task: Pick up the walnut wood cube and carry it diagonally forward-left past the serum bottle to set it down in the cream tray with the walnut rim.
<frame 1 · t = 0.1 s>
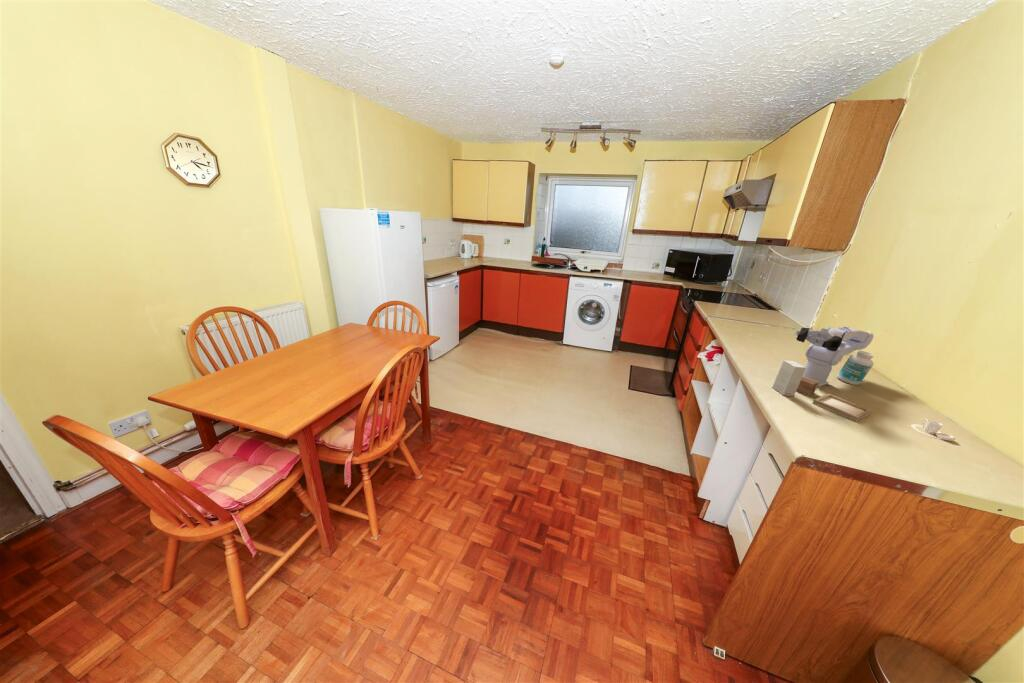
hand: (810, 340, 119), 21 cm above the worktop, tool horizontal, fingers open, 7 cm apart
skincare box: (782, 392, 125), on the worktop
pill bottle: (847, 381, 139), on the worktop, touching arm
teacup and saucer: (929, 437, 104), on the worktop
tray: (840, 408, 116), on the worktop
cube: (803, 391, 127), on the worktop
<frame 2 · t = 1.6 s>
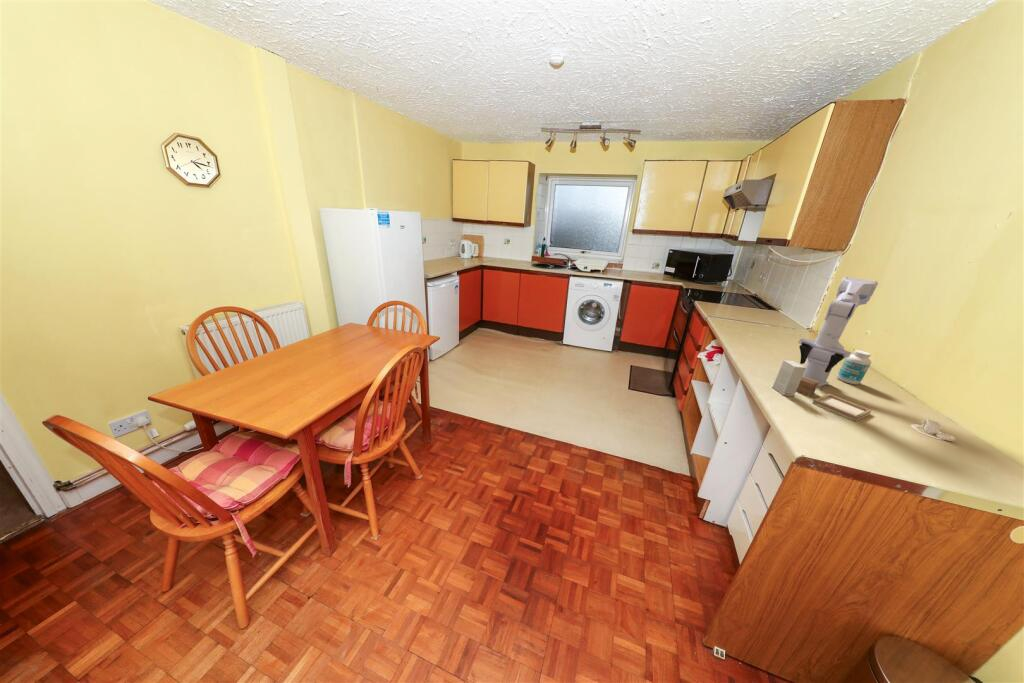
hand: (814, 367, 123), 10 cm above the worktop, tool pointing down, fingers open, 7 cm apart
pill bottle: (847, 381, 139), on the worktop
everything else where it was.
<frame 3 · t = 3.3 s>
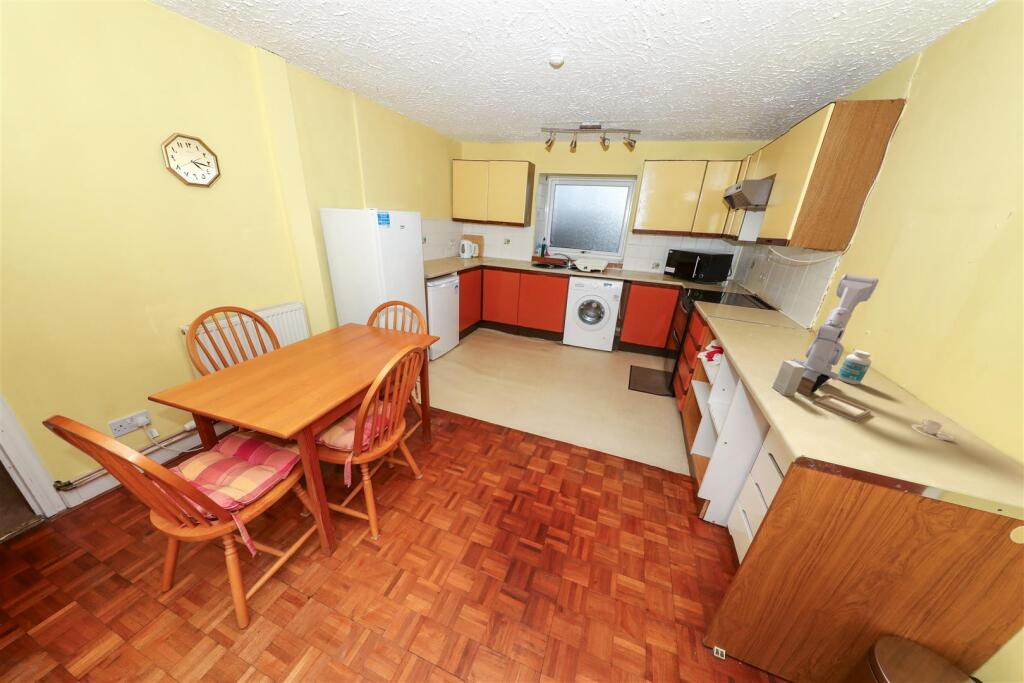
hand: (804, 388, 126), 1 cm above the worktop, tool pointing down, fingers closed on cube, 5 cm apart
cube: (803, 391, 127), on the worktop, touching gripper
everything else where it was.
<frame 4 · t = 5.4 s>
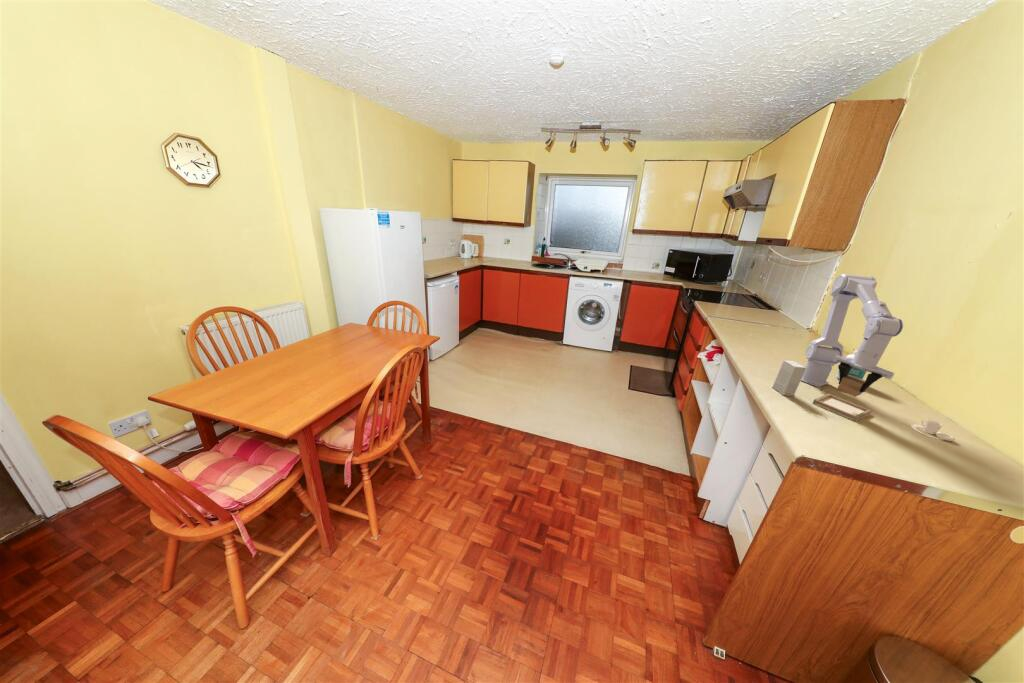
hand: (851, 387, 113), 8 cm above the worktop, tool pointing down, fingers closed on cube, 5 cm apart
cube: (848, 392, 114), point 7 cm above the worktop, touching gripper
everything else where it was.
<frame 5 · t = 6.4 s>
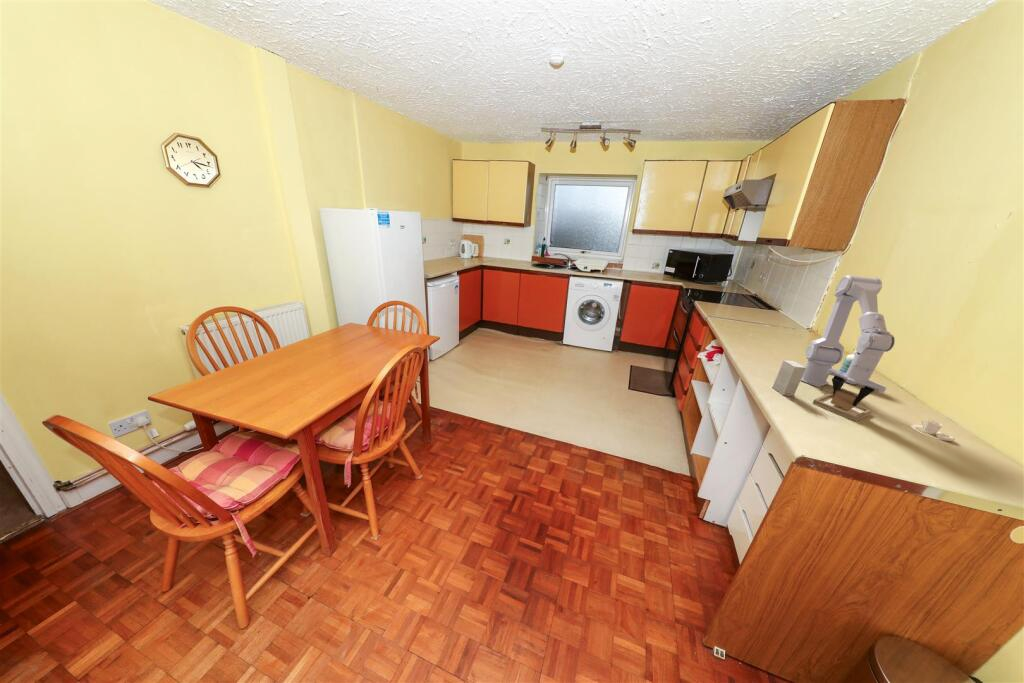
hand: (844, 400, 115), 3 cm above the worktop, tool pointing down, fingers closed on cube, 5 cm apart
cube: (842, 404, 116), point 2 cm above the worktop, touching gripper
everything else where it was.
when the fingers open (3 cm above the worktop, at t = 7.3 s): cube stays where it is, resting on tray.
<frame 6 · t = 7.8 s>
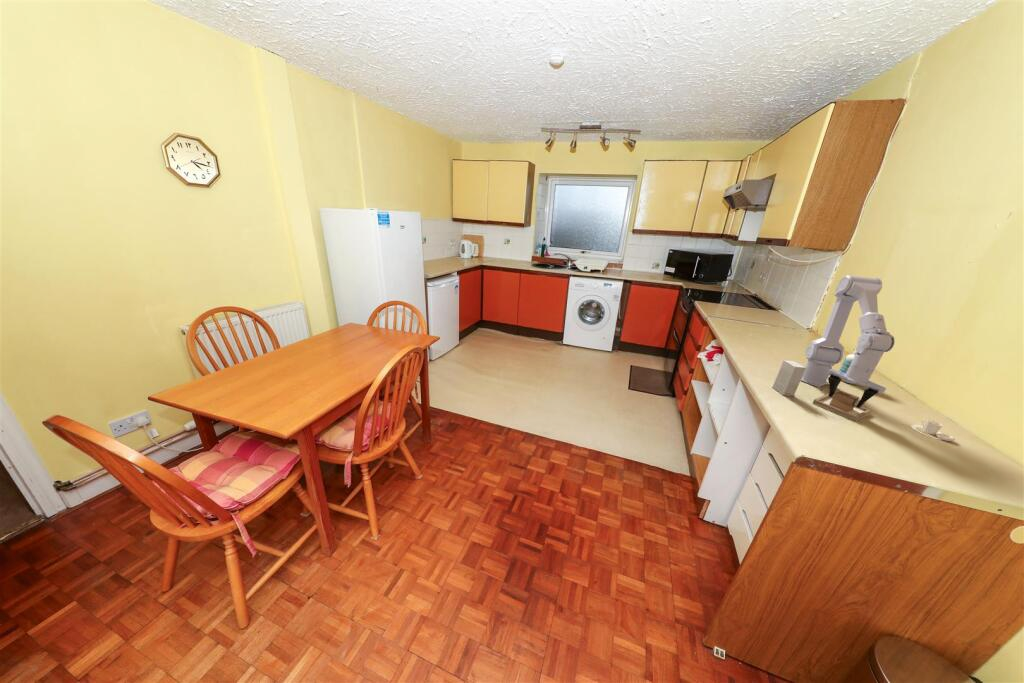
hand: (844, 401, 115), 3 cm above the worktop, tool pointing down, fingers open, 7 cm apart
cube: (840, 407, 116), point 1 cm above the worktop, touching tray
everything else where it was.
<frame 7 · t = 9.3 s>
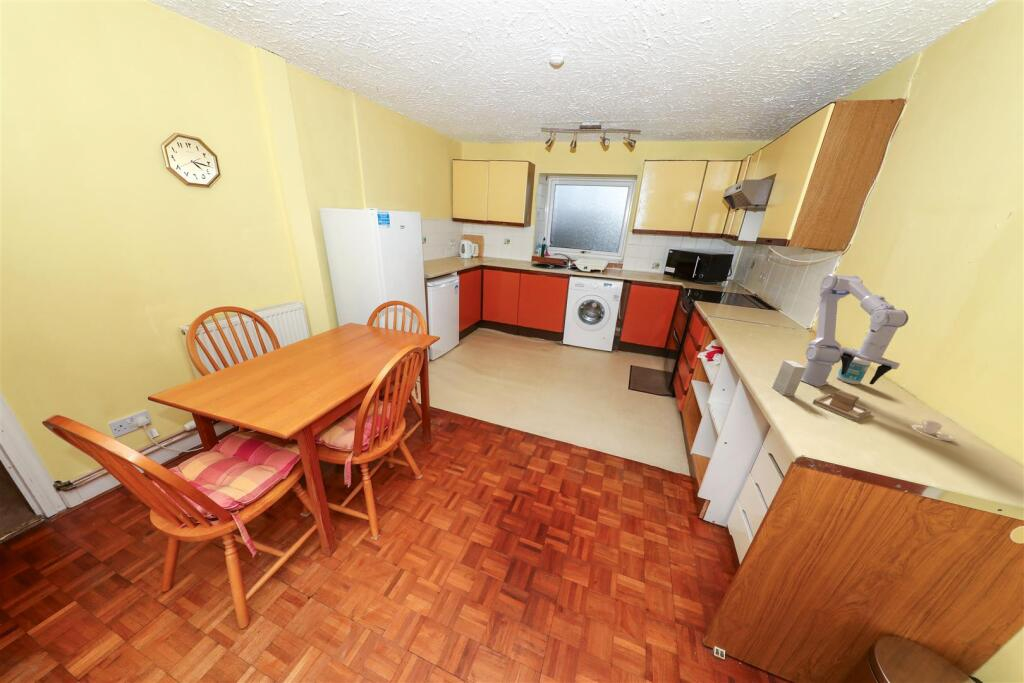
hand: (857, 378, 116), 10 cm above the worktop, tool pointing down, fingers open, 7 cm apart
nothing on the worktop moved.
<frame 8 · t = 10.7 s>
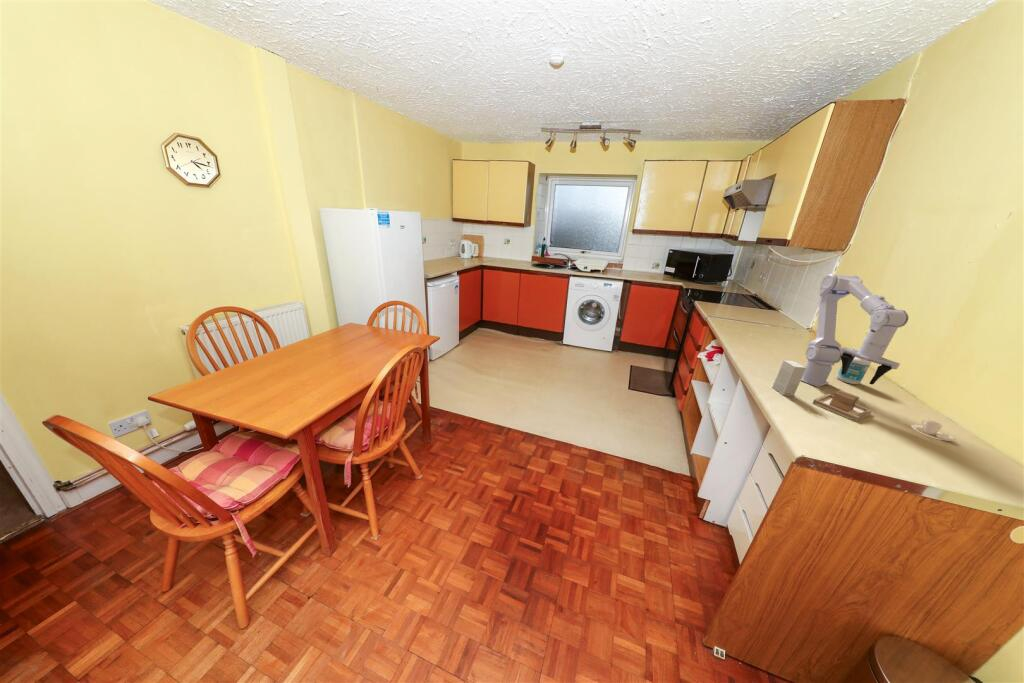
hand: (857, 378, 116), 10 cm above the worktop, tool pointing down, fingers open, 7 cm apart
nothing on the worktop moved.
at the end: cube inside the target area on the tray (0.2 cm from its centre), point 0.6 cm above the tray's base; the gripper is holding nothing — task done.
